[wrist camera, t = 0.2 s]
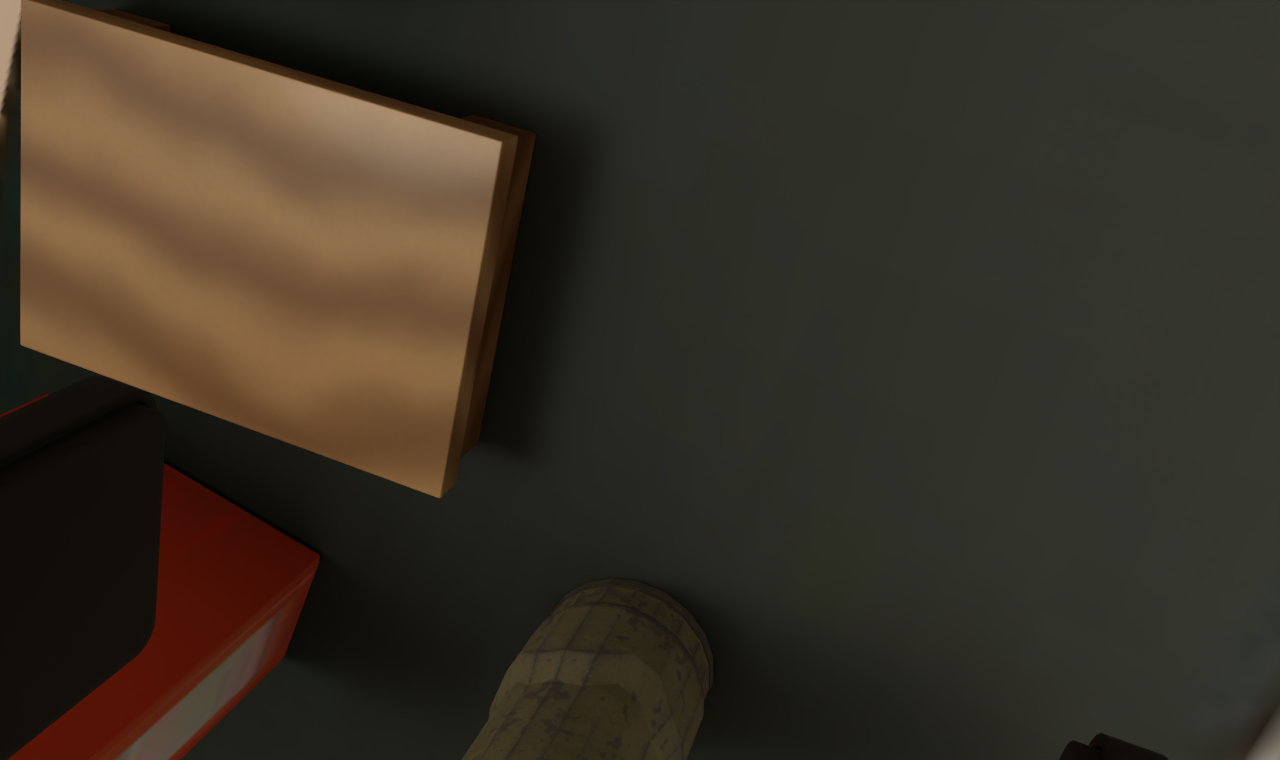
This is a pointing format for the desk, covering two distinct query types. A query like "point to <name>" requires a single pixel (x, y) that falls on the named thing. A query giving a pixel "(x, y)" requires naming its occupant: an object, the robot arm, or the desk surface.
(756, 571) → the desk surface
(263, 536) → the file binder
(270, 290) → the oak riser board
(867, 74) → the desk surface
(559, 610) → the stone idol statue
